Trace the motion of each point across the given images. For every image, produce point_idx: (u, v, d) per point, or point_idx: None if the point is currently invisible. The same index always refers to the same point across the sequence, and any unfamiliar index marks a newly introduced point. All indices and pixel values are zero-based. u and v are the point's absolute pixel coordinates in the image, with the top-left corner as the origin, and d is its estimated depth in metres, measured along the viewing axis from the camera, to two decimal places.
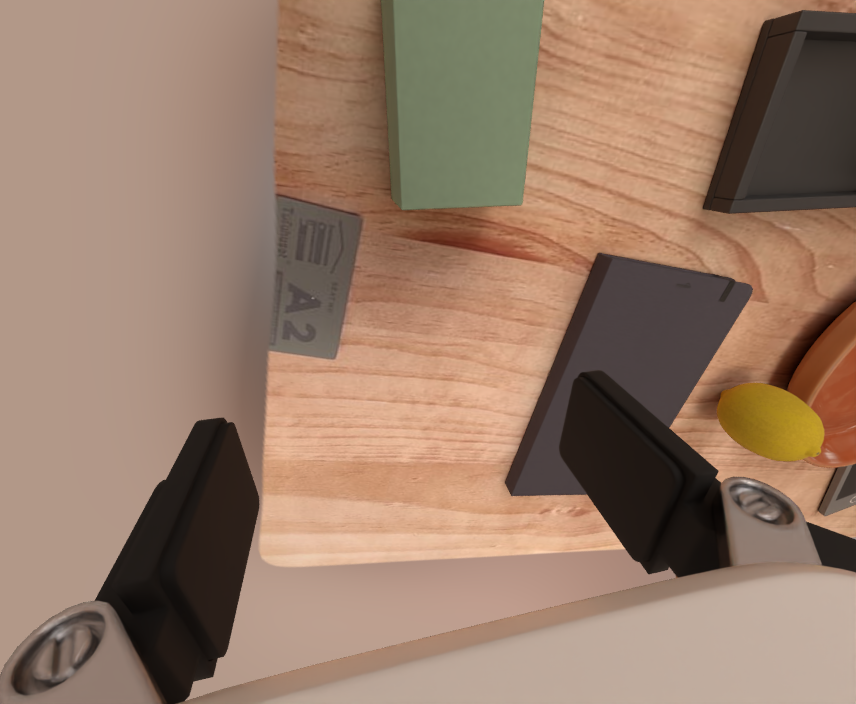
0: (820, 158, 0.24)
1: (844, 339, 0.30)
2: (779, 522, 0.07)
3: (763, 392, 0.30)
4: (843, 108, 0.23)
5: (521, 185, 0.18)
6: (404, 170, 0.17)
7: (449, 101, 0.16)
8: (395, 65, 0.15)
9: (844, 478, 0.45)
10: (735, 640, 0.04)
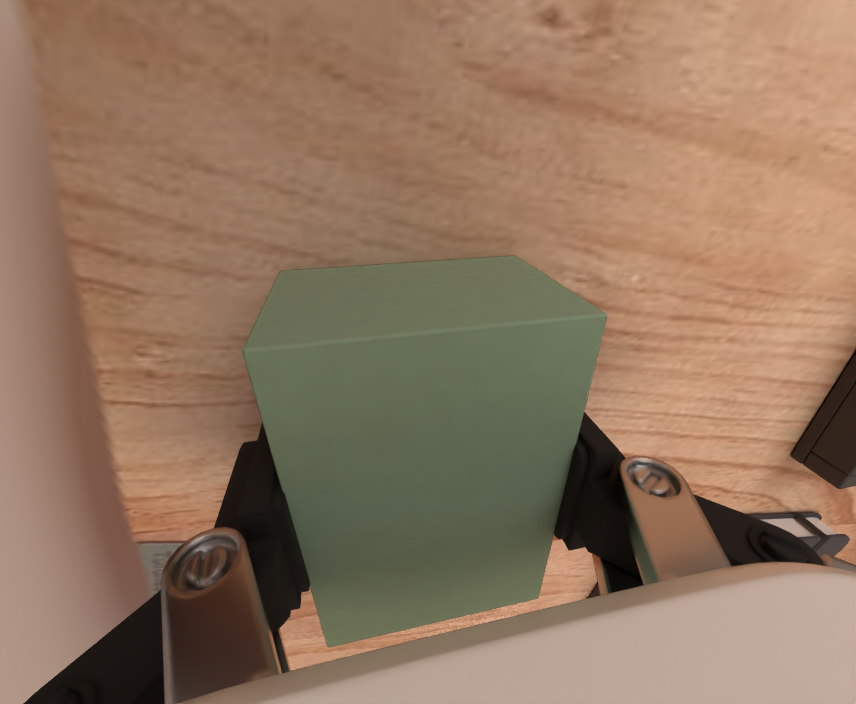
0: None
1: None
2: (670, 492, 0.07)
3: None
4: None
5: (537, 582, 0.10)
6: (326, 613, 0.09)
7: (403, 530, 0.08)
8: (289, 509, 0.07)
9: None
10: (735, 640, 0.04)
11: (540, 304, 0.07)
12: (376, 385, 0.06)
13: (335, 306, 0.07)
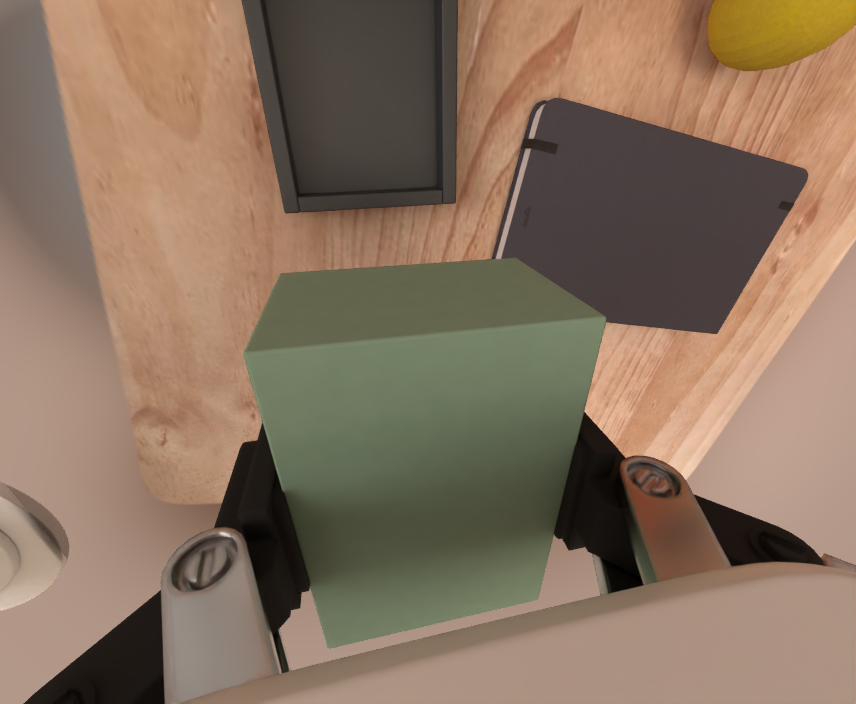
0: (394, 49, 0.19)
1: None
2: (669, 492, 0.07)
3: (726, 25, 0.19)
4: (340, 47, 0.19)
5: (537, 583, 0.10)
6: (326, 615, 0.09)
7: (403, 532, 0.08)
8: None
9: None
10: (735, 640, 0.04)
11: (539, 307, 0.07)
12: (376, 388, 0.06)
13: (335, 309, 0.07)
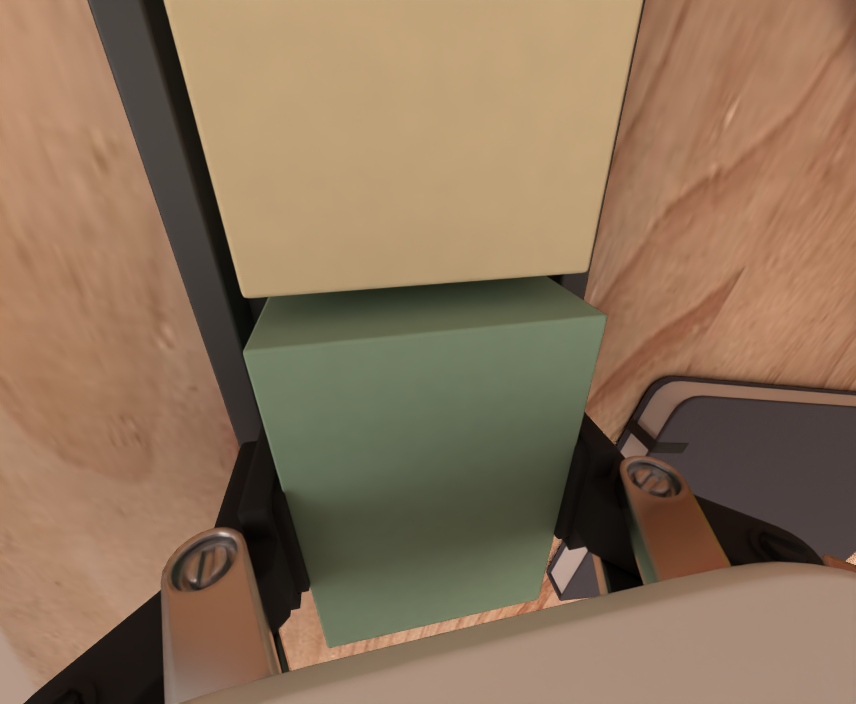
0: None
1: None
2: (670, 492, 0.07)
3: None
4: None
5: (537, 583, 0.10)
6: (326, 614, 0.09)
7: (403, 531, 0.08)
8: None
9: None
10: (735, 640, 0.04)
11: (540, 306, 0.07)
12: (376, 386, 0.06)
13: (336, 307, 0.07)
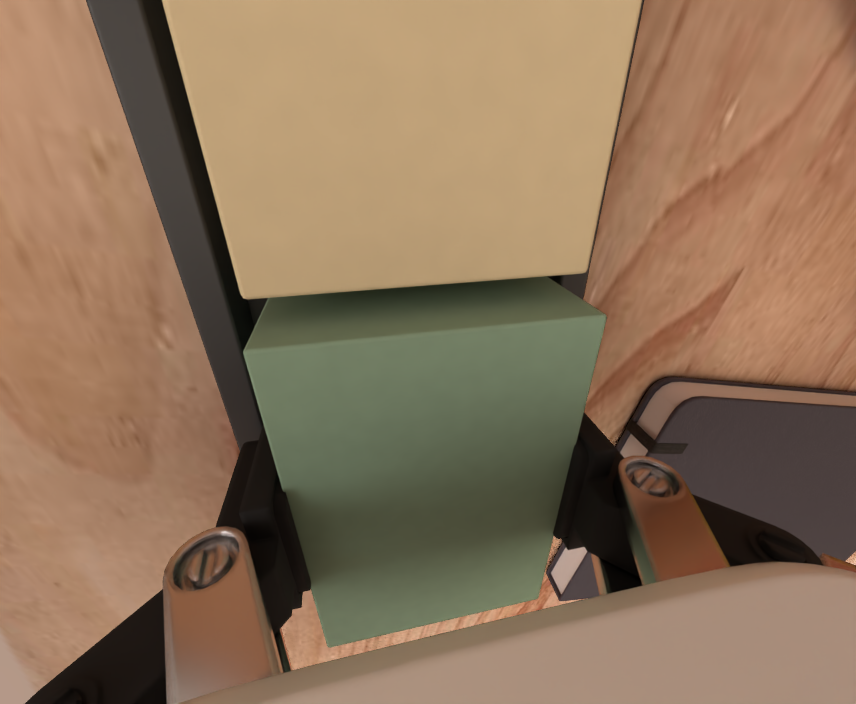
0: None
1: None
2: (668, 492, 0.07)
3: None
4: None
5: (537, 583, 0.10)
6: (326, 614, 0.09)
7: (403, 531, 0.08)
8: None
9: None
10: (735, 640, 0.04)
11: (540, 305, 0.07)
12: (376, 386, 0.06)
13: (335, 307, 0.07)
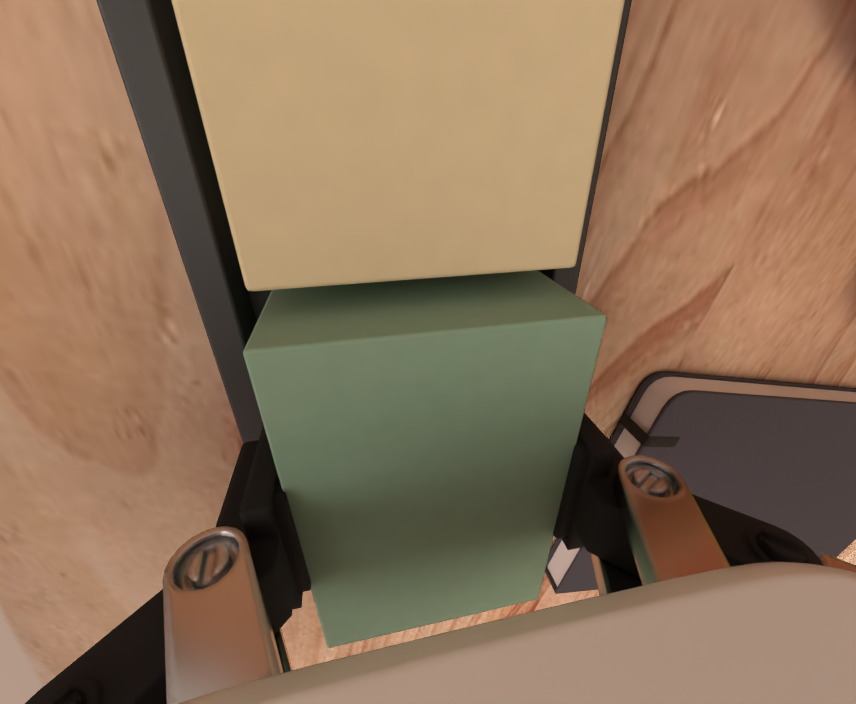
0: None
1: None
2: (668, 492, 0.07)
3: None
4: None
5: (537, 583, 0.10)
6: (326, 614, 0.09)
7: (403, 531, 0.08)
8: None
9: None
10: (735, 640, 0.04)
11: (540, 305, 0.07)
12: (376, 386, 0.06)
13: (335, 307, 0.07)
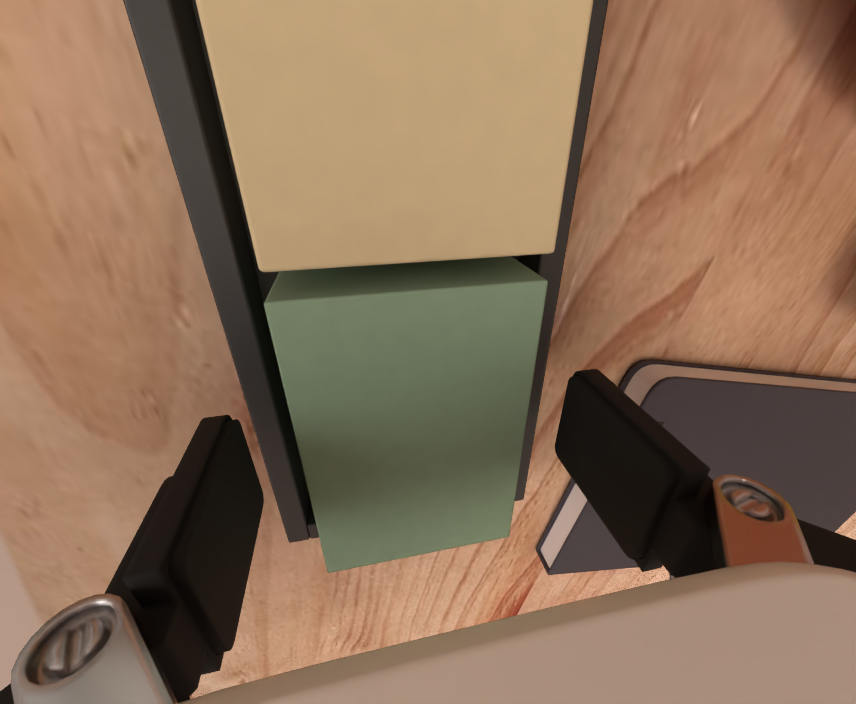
0: None
1: None
2: (770, 519, 0.07)
3: None
4: None
5: (507, 520, 0.12)
6: (327, 539, 0.11)
7: (389, 464, 0.10)
8: (297, 440, 0.09)
9: None
10: (735, 640, 0.04)
11: (497, 274, 0.09)
12: (366, 335, 0.08)
13: (334, 275, 0.09)
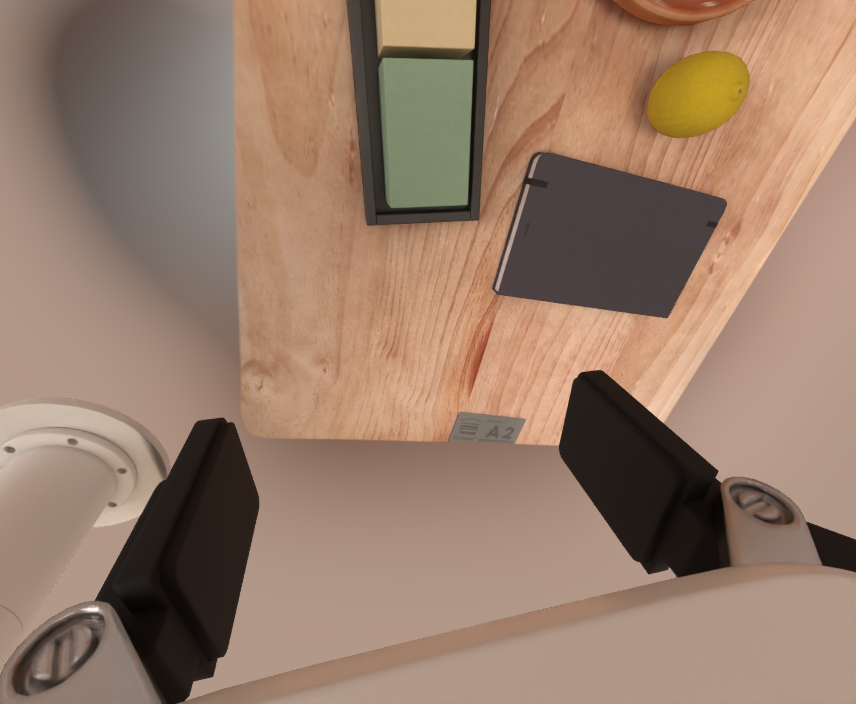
0: None
1: (630, 3, 0.26)
2: (779, 522, 0.07)
3: (656, 111, 0.29)
4: None
5: (466, 192, 0.29)
6: (392, 184, 0.27)
7: (418, 143, 0.26)
8: (386, 124, 0.25)
9: None
10: (735, 640, 0.04)
11: None
12: (412, 75, 0.24)
13: None
